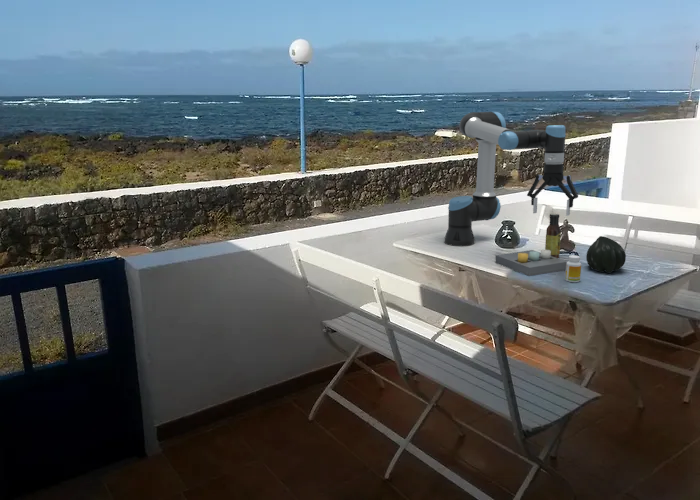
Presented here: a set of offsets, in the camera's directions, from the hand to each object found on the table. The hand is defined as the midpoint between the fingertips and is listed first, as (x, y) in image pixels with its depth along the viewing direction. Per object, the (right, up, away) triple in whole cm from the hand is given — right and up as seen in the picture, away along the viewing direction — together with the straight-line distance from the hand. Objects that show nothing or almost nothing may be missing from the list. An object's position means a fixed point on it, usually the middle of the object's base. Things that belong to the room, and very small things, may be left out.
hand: (551, 214), depth 223 cm
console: (-8, -22, +4) cm, 24 cm away
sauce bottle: (+7, -19, +16) cm, 26 cm away
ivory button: (-1, -19, +3) cm, 20 cm away
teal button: (-7, -20, +1) cm, 21 cm away
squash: (+20, -24, -4) cm, 32 cm away
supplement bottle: (+2, -27, -17) cm, 32 cm away
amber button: (-12, -21, -1) cm, 24 cm away
